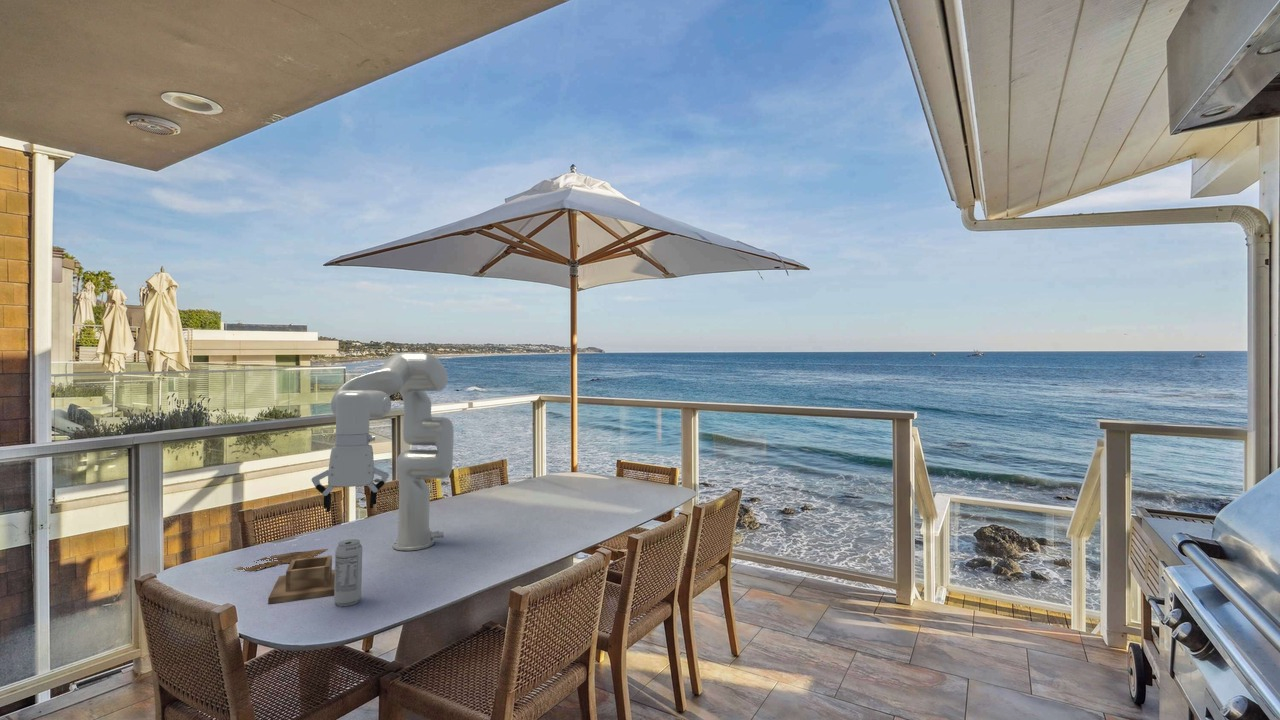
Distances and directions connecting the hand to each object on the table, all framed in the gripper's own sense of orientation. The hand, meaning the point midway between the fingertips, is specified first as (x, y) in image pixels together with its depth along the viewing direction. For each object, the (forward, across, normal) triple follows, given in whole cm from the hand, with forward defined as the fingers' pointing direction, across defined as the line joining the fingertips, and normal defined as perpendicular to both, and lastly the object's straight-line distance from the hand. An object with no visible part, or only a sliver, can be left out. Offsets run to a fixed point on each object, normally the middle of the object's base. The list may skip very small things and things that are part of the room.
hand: (350, 509), depth 140 cm
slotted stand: (+23, +10, -14) cm, 29 cm away
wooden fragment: (+24, +19, -42) cm, 52 cm away
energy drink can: (+23, 0, 0) cm, 23 cm away
